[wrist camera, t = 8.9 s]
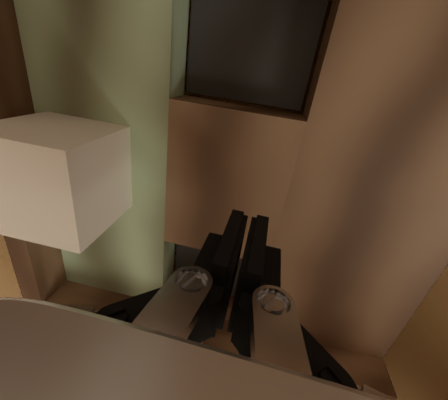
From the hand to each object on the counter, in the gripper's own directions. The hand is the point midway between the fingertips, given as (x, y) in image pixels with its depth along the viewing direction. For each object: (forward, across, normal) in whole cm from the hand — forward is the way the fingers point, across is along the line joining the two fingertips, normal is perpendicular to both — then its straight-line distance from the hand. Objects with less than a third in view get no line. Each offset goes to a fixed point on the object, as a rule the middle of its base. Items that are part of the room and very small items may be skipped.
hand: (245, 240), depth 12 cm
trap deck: (+6, +2, -1) cm, 6 cm away
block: (+3, +10, -1) cm, 11 cm away
